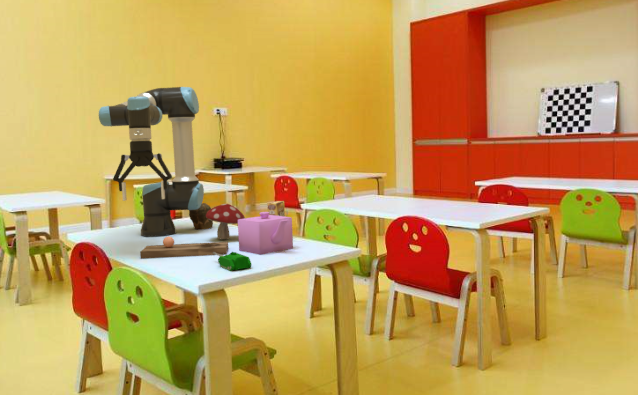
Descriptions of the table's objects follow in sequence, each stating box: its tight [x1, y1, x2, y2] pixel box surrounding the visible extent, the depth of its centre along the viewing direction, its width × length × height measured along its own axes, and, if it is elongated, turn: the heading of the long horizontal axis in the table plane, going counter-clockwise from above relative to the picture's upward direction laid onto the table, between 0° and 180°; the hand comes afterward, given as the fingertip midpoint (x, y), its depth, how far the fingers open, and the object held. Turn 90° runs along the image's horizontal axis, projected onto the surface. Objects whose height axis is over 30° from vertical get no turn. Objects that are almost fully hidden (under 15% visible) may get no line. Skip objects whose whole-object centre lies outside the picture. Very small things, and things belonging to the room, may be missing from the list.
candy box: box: [267, 200, 286, 217], centre depth 234 cm, size 9×4×15 cm, turn 163°
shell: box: [188, 202, 214, 230], centre depth 273 cm, size 11×11×12 cm
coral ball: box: [162, 235, 175, 247], centre depth 210 cm, size 4×4×4 cm
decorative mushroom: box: [206, 203, 245, 241], centre depth 237 cm, size 16×16×15 cm
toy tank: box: [213, 251, 253, 272], centre depth 188 cm, size 7×19×5 cm, turn 33°
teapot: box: [237, 211, 294, 256], centre depth 212 cm, size 15×25×14 cm, turn 42°
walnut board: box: [139, 241, 229, 260], centre depth 211 cm, size 12×30×2 cm, turn 95°
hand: (144, 199), depth 208 cm, fingers open, 13 cm apart
